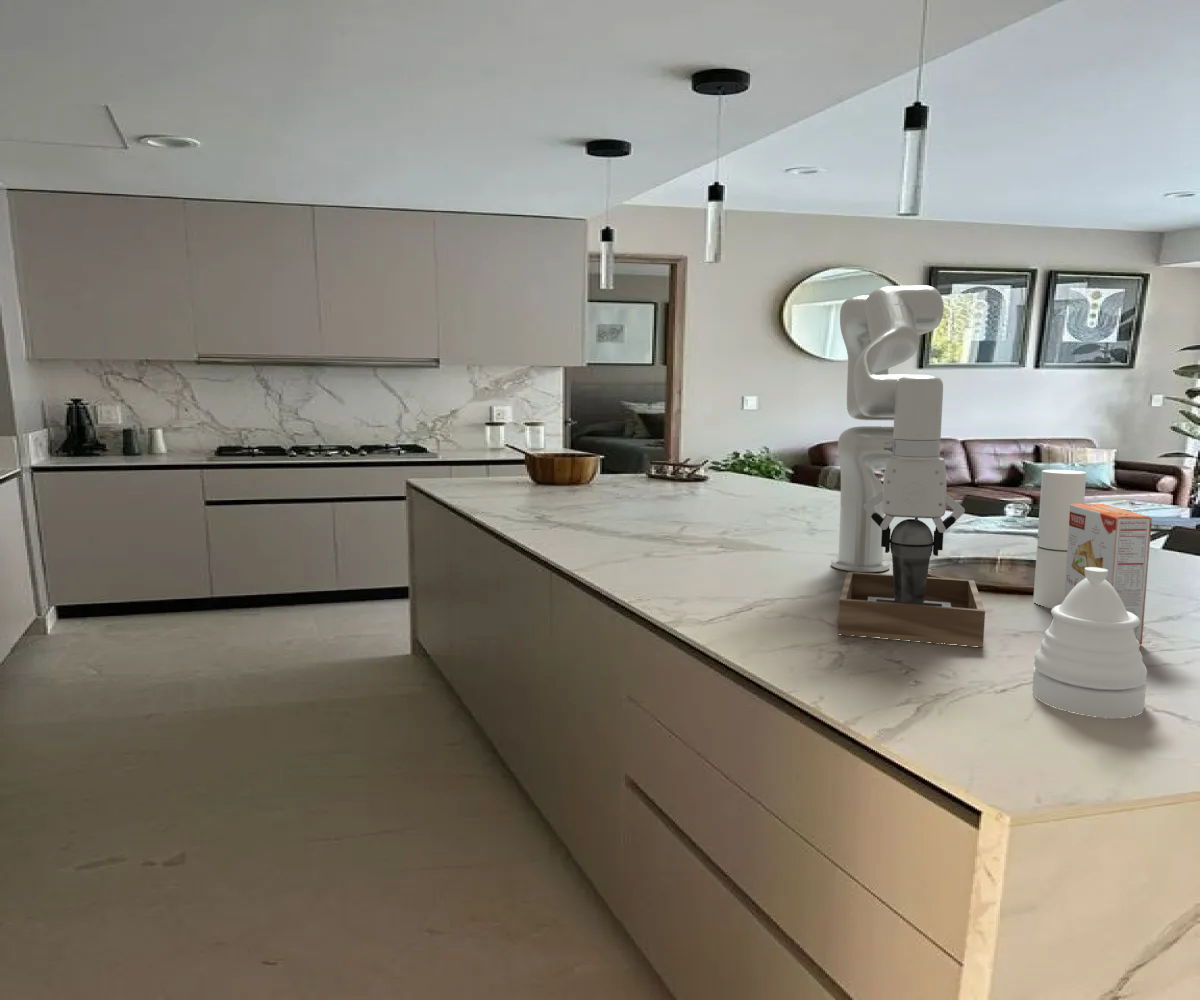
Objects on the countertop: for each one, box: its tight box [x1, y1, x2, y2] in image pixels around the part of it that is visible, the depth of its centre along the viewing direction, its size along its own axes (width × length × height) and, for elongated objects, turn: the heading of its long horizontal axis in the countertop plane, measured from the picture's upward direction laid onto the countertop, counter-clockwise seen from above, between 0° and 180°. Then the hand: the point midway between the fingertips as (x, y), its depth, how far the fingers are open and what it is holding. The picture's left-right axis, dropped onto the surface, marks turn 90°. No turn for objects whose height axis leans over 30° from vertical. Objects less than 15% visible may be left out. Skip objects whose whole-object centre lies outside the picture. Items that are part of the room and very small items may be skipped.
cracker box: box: [1064, 502, 1153, 646], centre depth 140 cm, size 14×6×21 cm, turn 178°
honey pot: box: [1031, 567, 1148, 719], centre depth 111 cm, size 13×13×18 cm
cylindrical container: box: [1033, 469, 1087, 609], centre depth 158 cm, size 7×7×25 cm
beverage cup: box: [890, 518, 934, 605], centre depth 146 cm, size 7×7×20 cm
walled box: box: [837, 571, 986, 648], centre depth 147 cm, size 22×22×6 cm
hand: (911, 552), depth 146 cm, fingers closed on beverage cup, 7 cm apart
